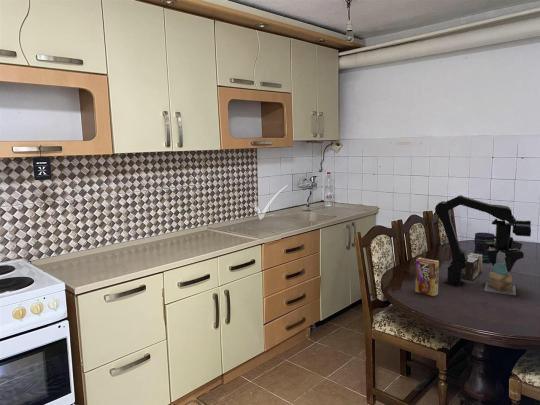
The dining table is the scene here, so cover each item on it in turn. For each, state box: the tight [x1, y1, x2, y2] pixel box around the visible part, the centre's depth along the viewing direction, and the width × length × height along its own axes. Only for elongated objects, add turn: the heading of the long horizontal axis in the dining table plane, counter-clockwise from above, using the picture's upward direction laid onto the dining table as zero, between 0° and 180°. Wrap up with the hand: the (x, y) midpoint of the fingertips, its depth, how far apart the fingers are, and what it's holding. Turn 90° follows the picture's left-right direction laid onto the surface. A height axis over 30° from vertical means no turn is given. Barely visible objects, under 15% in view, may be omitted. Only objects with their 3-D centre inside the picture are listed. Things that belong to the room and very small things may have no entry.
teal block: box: [493, 262, 509, 275], centre depth 182 cm, size 4×4×4 cm
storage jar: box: [473, 232, 496, 264], centre depth 225 cm, size 10×10×15 cm
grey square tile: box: [483, 281, 517, 296], centre depth 184 cm, size 12×12×1 cm
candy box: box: [414, 257, 440, 297], centre depth 181 cm, size 9×4×15 cm, turn 45°
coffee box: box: [461, 252, 483, 281], centre depth 203 cm, size 9×6×16 cm
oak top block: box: [489, 270, 513, 283], centre depth 183 cm, size 6×6×4 cm
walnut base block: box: [487, 278, 514, 291], centre depth 183 cm, size 7×7×4 cm
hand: (501, 268), depth 182 cm, fingers open, 9 cm apart
